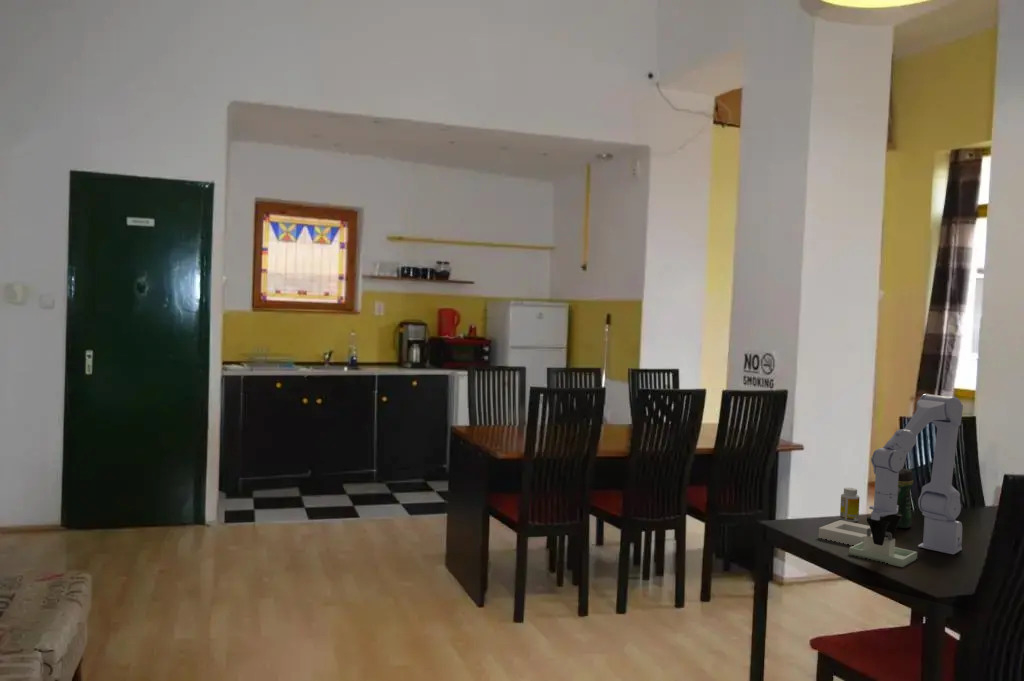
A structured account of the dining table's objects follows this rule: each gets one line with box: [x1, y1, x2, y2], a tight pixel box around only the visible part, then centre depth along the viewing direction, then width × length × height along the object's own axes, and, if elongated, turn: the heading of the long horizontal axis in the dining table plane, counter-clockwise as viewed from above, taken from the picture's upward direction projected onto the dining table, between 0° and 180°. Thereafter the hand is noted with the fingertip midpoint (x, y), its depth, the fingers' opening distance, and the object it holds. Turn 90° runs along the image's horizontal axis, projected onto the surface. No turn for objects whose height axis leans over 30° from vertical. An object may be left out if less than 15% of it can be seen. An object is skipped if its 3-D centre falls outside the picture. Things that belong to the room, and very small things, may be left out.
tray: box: [848, 542, 918, 568], centre depth 220 cm, size 14×11×2 cm
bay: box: [818, 519, 872, 546], centre depth 238 cm, size 12×15×3 cm
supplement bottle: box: [839, 487, 860, 523], centre depth 260 cm, size 6×6×10 cm
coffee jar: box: [897, 467, 914, 529], centre depth 256 cm, size 10×8×19 cm
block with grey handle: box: [863, 528, 896, 557], centre depth 221 cm, size 7×4×6 cm, turn 45°
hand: (883, 542), depth 220 cm, fingers open, 7 cm apart
